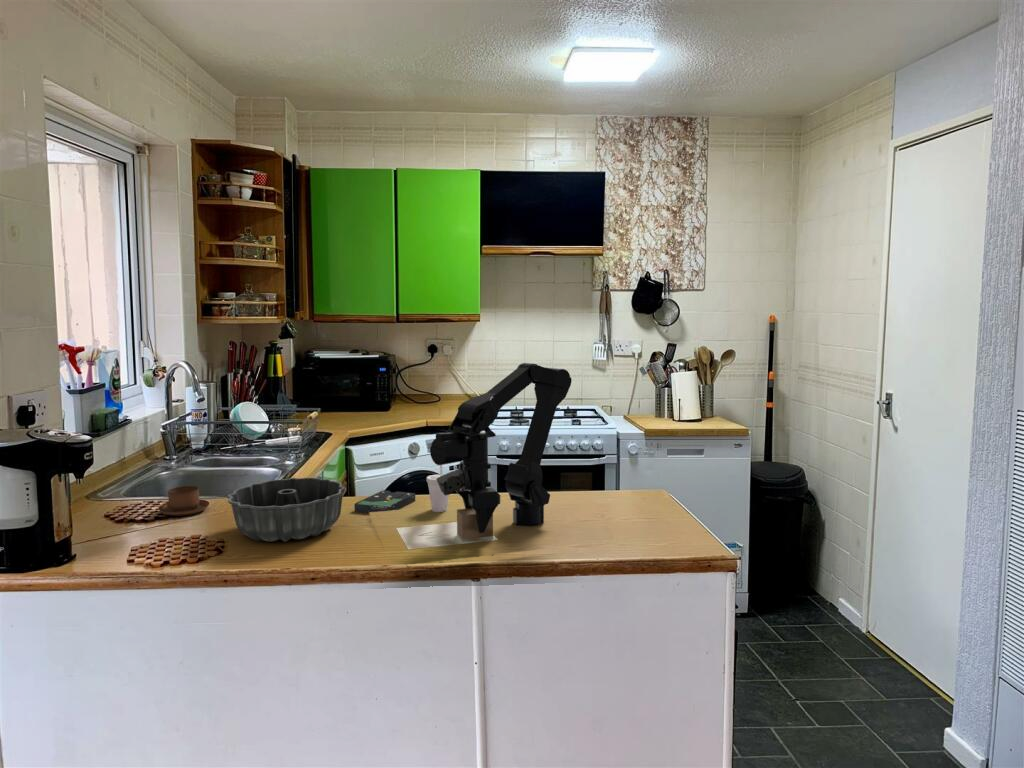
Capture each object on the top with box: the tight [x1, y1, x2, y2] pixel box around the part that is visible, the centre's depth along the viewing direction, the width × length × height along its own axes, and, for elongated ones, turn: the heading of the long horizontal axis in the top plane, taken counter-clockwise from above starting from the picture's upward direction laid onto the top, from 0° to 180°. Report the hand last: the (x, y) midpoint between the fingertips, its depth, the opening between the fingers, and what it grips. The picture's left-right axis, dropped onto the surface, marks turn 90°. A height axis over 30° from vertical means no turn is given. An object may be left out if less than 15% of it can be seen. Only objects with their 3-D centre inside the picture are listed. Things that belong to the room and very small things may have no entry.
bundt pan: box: [227, 477, 346, 543], centre depth 175 cm, size 26×26×10 cm
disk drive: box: [354, 489, 416, 514], centre depth 197 cm, size 10×3×15 cm
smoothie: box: [426, 465, 450, 513], centre depth 188 cm, size 6×6×14 cm
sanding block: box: [456, 508, 494, 542], centre depth 166 cm, size 7×5×6 cm
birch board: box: [396, 521, 498, 551], centre depth 169 cm, size 20×16×1 cm
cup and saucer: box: [158, 485, 210, 517], centre depth 192 cm, size 12×12×6 cm
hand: (476, 526), depth 166 cm, fingers open, 9 cm apart
